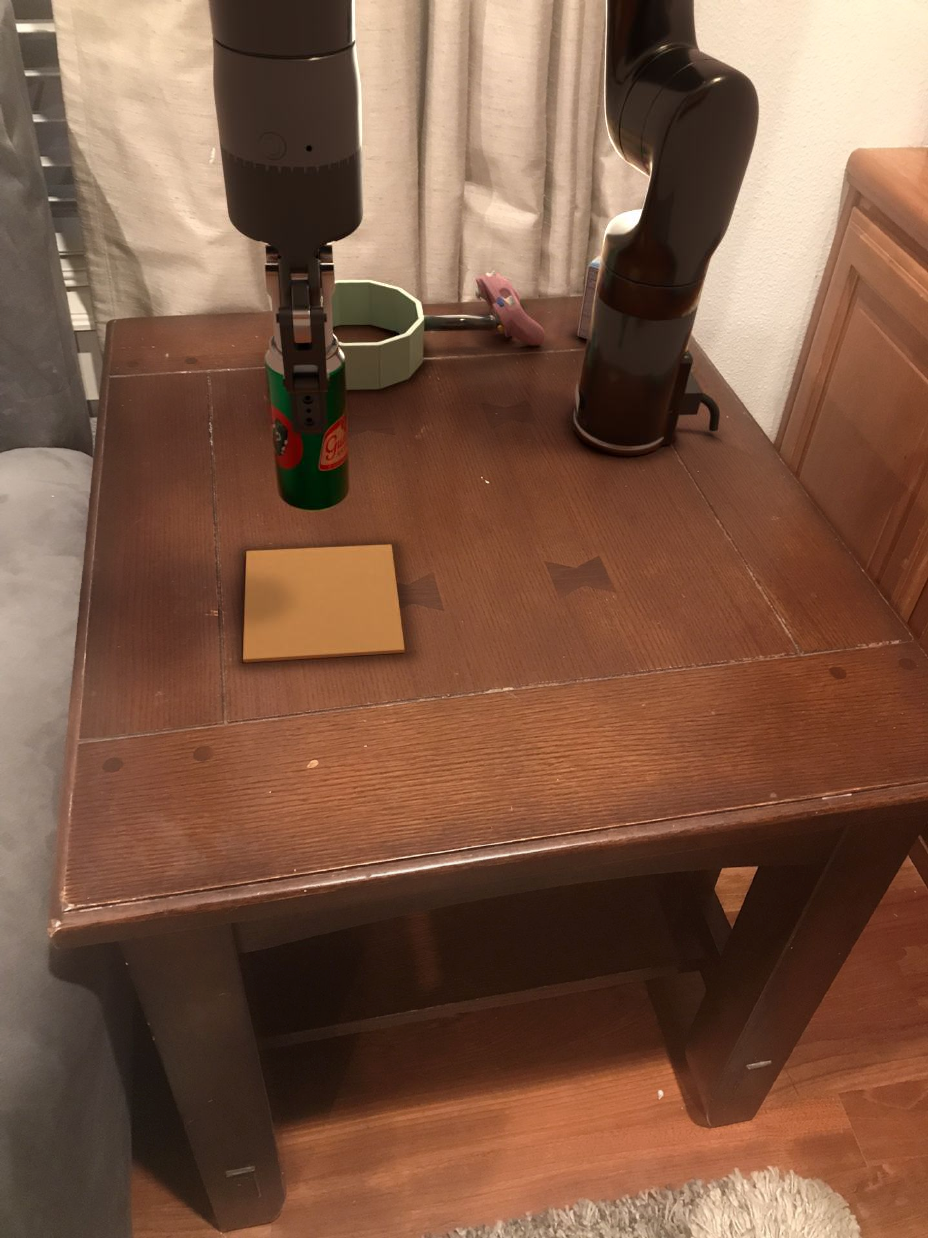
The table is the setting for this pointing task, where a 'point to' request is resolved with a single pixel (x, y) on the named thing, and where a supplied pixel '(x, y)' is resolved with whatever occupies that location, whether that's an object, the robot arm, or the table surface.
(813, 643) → the table surface
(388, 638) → the cork mat
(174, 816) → the table surface
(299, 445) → the soda can
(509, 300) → the video game controller
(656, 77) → the robot arm
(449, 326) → the pan
